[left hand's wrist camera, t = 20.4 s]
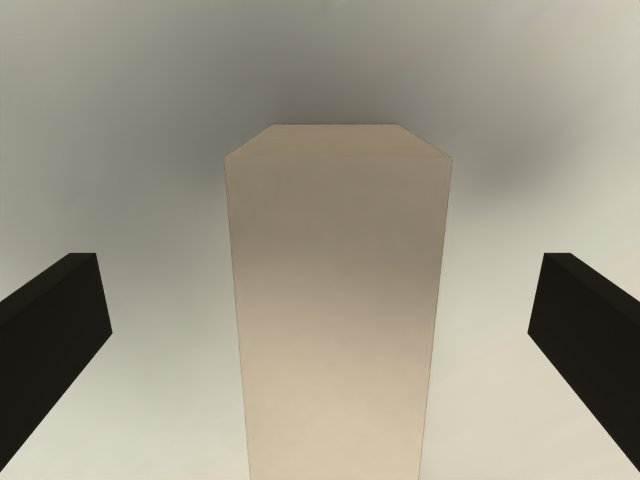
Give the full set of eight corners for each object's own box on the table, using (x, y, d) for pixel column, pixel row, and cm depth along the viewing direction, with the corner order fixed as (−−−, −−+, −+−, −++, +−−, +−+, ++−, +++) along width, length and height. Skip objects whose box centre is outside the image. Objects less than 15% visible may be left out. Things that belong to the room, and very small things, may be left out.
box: (271, 124, 21) (222, 156, 11) (398, 124, 20) (453, 157, 11) (287, 498, 29) (267, 688, 20) (376, 500, 29) (396, 692, 20)
